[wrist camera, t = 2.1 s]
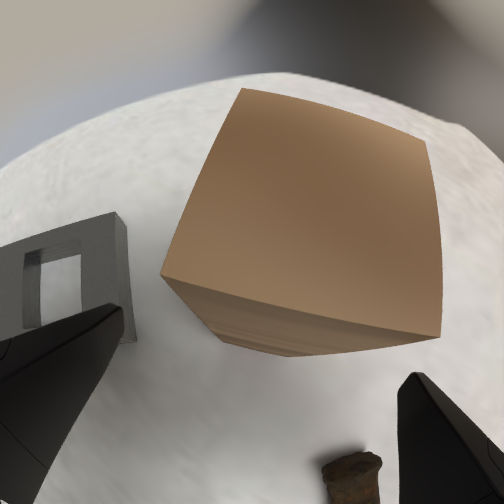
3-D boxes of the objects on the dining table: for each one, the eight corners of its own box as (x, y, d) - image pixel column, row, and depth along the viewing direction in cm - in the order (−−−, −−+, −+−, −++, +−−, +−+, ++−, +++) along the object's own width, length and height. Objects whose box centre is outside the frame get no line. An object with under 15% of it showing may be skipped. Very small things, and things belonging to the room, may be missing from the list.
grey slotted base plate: (126, 227, 20) (115, 211, 18) (137, 341, 17) (123, 338, 15) (-12, 266, 18) (-27, 257, 16) (-13, 352, 15) (-30, 349, 13)
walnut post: (286, 357, 17) (440, 337, 3) (222, 341, 18) (159, 274, 4) (300, 295, 19) (424, 141, 5) (239, 280, 19) (242, 87, 5)
